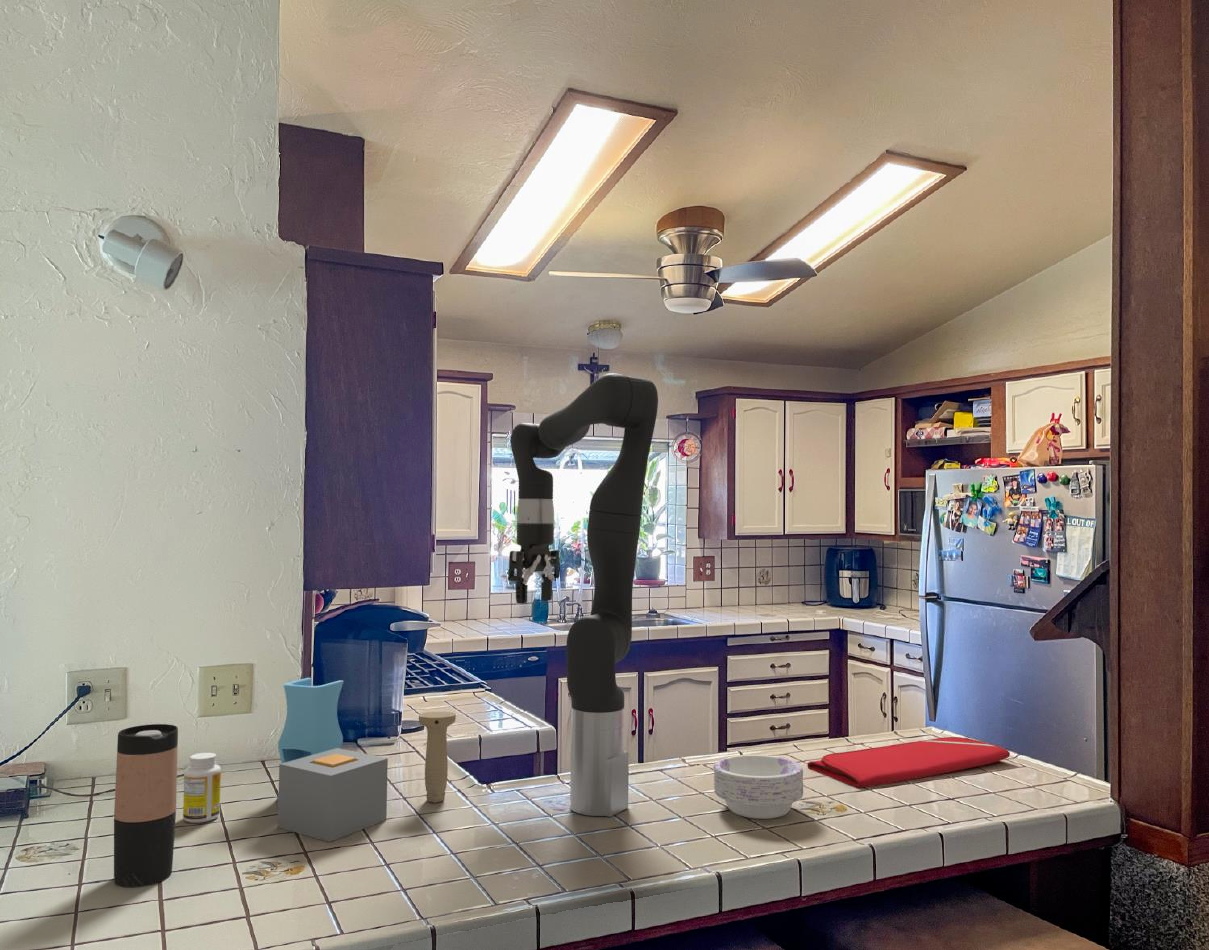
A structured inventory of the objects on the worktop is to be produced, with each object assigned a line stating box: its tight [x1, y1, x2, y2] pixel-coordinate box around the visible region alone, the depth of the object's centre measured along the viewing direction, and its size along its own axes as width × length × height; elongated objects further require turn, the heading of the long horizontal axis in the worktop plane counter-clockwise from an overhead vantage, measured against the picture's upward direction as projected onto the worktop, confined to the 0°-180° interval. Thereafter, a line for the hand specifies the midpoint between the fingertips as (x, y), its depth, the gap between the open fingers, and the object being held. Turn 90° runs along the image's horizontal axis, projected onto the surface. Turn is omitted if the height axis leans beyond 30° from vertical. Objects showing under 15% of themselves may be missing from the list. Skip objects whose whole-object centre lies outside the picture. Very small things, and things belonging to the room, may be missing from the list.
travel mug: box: [113, 723, 179, 888], centre depth 123 cm, size 8×8×20 cm
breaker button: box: [313, 754, 356, 768], centre depth 145 cm, size 5×5×4 cm
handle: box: [418, 711, 457, 804], centre depth 157 cm, size 5×6×15 cm
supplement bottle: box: [182, 752, 222, 824], centre depth 147 cm, size 6×6×10 cm
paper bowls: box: [713, 754, 804, 820], centre depth 153 cm, size 15×15×8 cm
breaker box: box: [277, 748, 389, 842], centre depth 145 cm, size 12×12×10 cm
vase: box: [276, 677, 344, 800], centre depth 160 cm, size 8×8×20 cm
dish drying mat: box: [807, 736, 1011, 789], centre depth 182 cm, size 16×41×4 cm, turn 116°
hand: (534, 601), depth 180 cm, fingers open, 8 cm apart
